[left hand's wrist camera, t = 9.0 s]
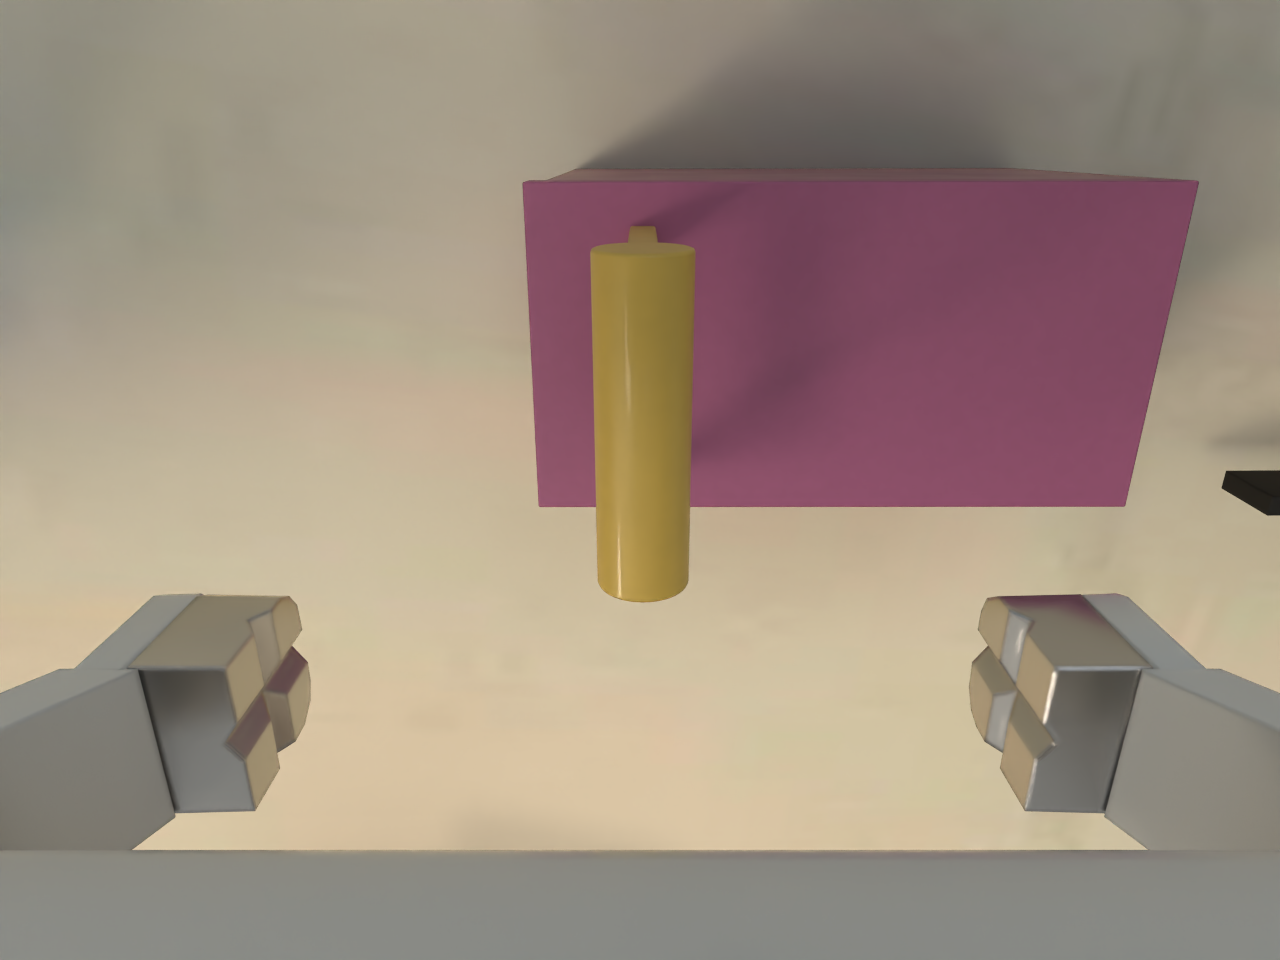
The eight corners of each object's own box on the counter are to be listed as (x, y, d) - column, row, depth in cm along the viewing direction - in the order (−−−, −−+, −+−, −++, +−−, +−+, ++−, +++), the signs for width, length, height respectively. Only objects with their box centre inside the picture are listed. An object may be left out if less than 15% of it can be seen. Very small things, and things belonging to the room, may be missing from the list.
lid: (542, 494, 27) (500, 642, 19) (526, 180, 24) (468, 199, 16) (1108, 494, 27) (1304, 642, 19) (1177, 179, 24) (1453, 197, 16)
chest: (580, 396, 38) (556, 494, 27) (574, 168, 34) (544, 180, 24) (977, 395, 38) (1107, 493, 27) (1011, 168, 34) (1176, 179, 24)
